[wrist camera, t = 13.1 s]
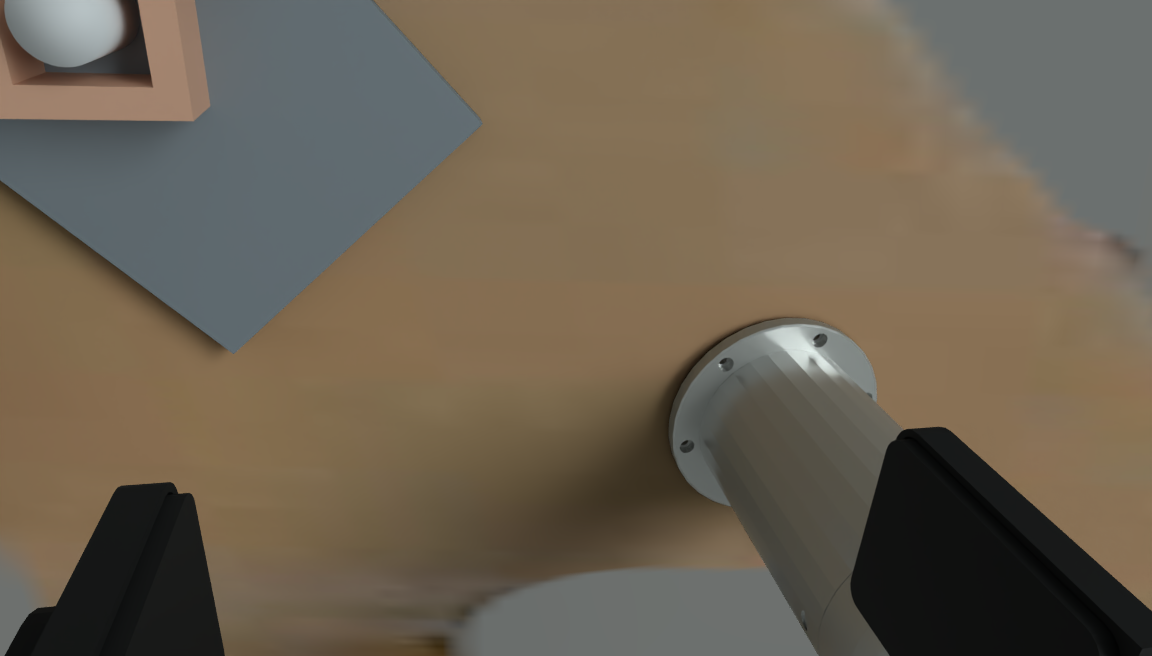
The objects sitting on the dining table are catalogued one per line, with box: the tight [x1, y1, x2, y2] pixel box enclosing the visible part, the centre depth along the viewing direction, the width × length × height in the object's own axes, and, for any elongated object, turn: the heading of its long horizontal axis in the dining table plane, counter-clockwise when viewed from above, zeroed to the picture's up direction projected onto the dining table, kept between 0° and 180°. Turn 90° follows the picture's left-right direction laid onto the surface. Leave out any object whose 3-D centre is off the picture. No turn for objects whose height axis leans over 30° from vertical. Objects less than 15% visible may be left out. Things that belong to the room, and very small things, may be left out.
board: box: [0, 0, 482, 354], centre depth 30 cm, size 18×16×5 cm
